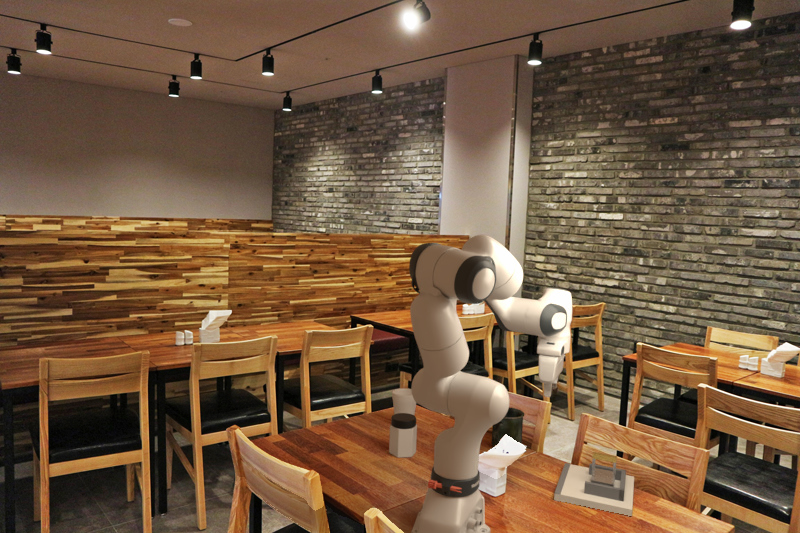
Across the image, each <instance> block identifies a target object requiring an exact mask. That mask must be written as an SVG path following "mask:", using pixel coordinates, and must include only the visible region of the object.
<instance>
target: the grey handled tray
mask: <svg viewBox="0 0 800 533" xmlns="http://www.w3.org/2000/svg"><path fill="white" fill-rule="evenodd" d="M617 459H618V457H617V455H612V454H607V453H601V452H597V451H593V452H592V460H591V462H592V463H591V464H592V478H591V482H592V483H597V484H602V485H607V486H612V487H614V482H615V477H616V468H617V461H618V460H617ZM597 460H598V461H605V462H611V463H612V468H613V471H608V470H603V469H598V468H595V464H596V461H597Z"/></svg>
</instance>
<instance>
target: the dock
mask: <svg viewBox="0 0 800 533" xmlns="http://www.w3.org/2000/svg"><path fill="white" fill-rule="evenodd" d="M595 468H598V469H603V470H608V471H613V466H612V467H611V466H605V465H601V464H596V463H595ZM591 478H592V463H589V467H587V466H583V465H582V466H581V465H576V464H571V463H568V462H565V463H564V465H563V468H562V471H561V473H560V476H559V479H558V482H557V485H556V487H555V489H554V490H555V491H554V494H553V497H554V498H553V500H554V501H556V502H560V501H561V503H565V502H567V503H566V504H569V503H571V504H570V505H574V504H576V505H575V506H578V505H581V506H580V507H583V506H586V507H585V508H588V507H590V508H589V509H592V508H595V509H594V510H597V509H600V510H599V511H601V510H604V511H603V512H606V511H609V512H608V513H610V512H614V513H613V514H615V513H619V514H624V515H628V516H627V517H629V516H632V517H633V506H634V505H633V504H634V489H635V486H634V485H635V476H633V475H628V474H627V470H626V469H622V468H618V467H616V477H615V482H614V487H612V486H607V485H602V484H597V483H592V482H591ZM619 514H618V515H619ZM624 515H623V516H624Z"/></svg>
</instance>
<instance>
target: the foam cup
mask: <svg viewBox="0 0 800 533" xmlns="http://www.w3.org/2000/svg"><path fill="white" fill-rule="evenodd" d="M391 394H392V396H391V398H392V403H393V406H392V407H393V415H394V414H397V413H408V414H412V415H414V416H415V413H416V406H417V403H416V402H415V400H414V398H413V396H412V390H411V388H404V387H403V388H402V387H401V388H396V389H393V390H392V392H391Z"/></svg>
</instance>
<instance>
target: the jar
mask: <svg viewBox="0 0 800 533" xmlns="http://www.w3.org/2000/svg"><path fill="white" fill-rule="evenodd" d="M390 419H391V420H390V421H391V423H390V425H389V440H388V442H389V443H388V444H389V446H388V447H389V448H388V450H389V451H388V453H389V454H390V455H392V456H395V457H396V458H398V459H399V458H412V457H413V456H414V455H415V454H416V453H417V441H418V440H417V435H418V424H417V417H416V416H415V414H414V415H412V414H408V413H397V414H394V413H393V414H392V415H391V418H390Z"/></svg>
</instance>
